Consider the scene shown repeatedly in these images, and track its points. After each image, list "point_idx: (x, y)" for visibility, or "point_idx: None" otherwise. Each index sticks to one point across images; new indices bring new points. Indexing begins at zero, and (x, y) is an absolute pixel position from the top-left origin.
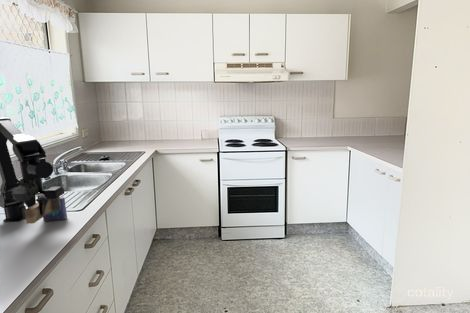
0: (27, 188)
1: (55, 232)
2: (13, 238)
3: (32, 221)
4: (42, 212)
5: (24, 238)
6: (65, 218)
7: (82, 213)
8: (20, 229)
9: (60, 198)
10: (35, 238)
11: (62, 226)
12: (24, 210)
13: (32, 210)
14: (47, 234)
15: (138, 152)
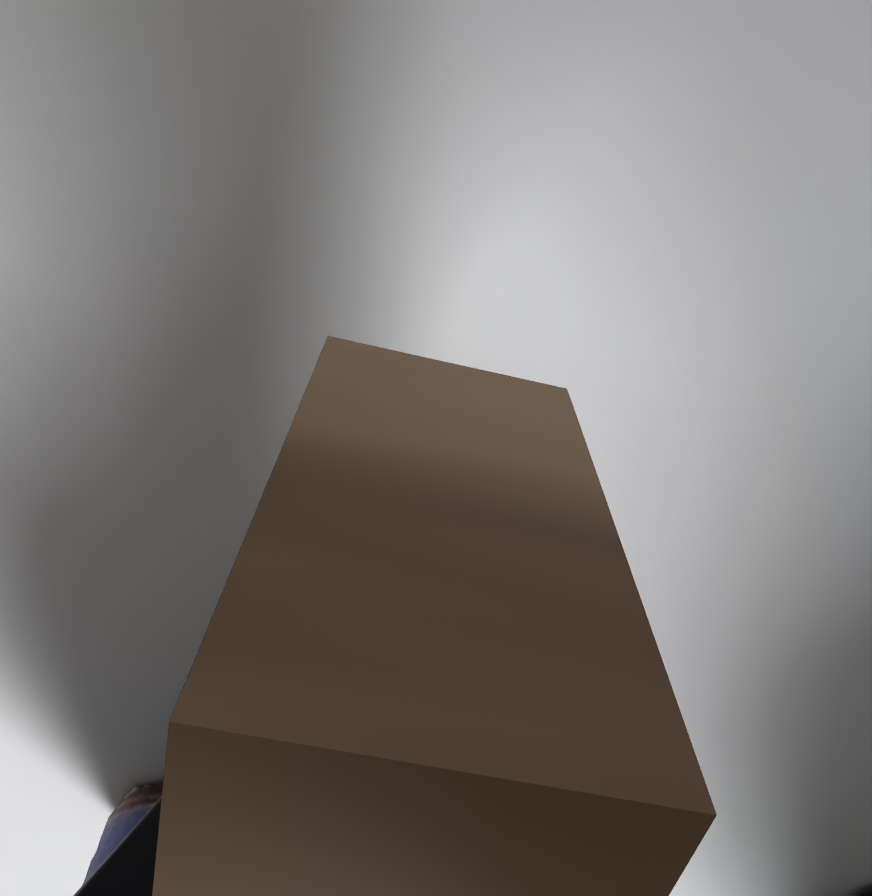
0: None
1: (9, 309)
2: (835, 239)
3: (351, 370)
4: (156, 812)
5: (591, 166)
6: (117, 806)
7: None
8: (780, 619)
9: None
10: (327, 88)
11: (25, 554)
12: (701, 806)
13: (177, 746)
14: (140, 248)
15: None
